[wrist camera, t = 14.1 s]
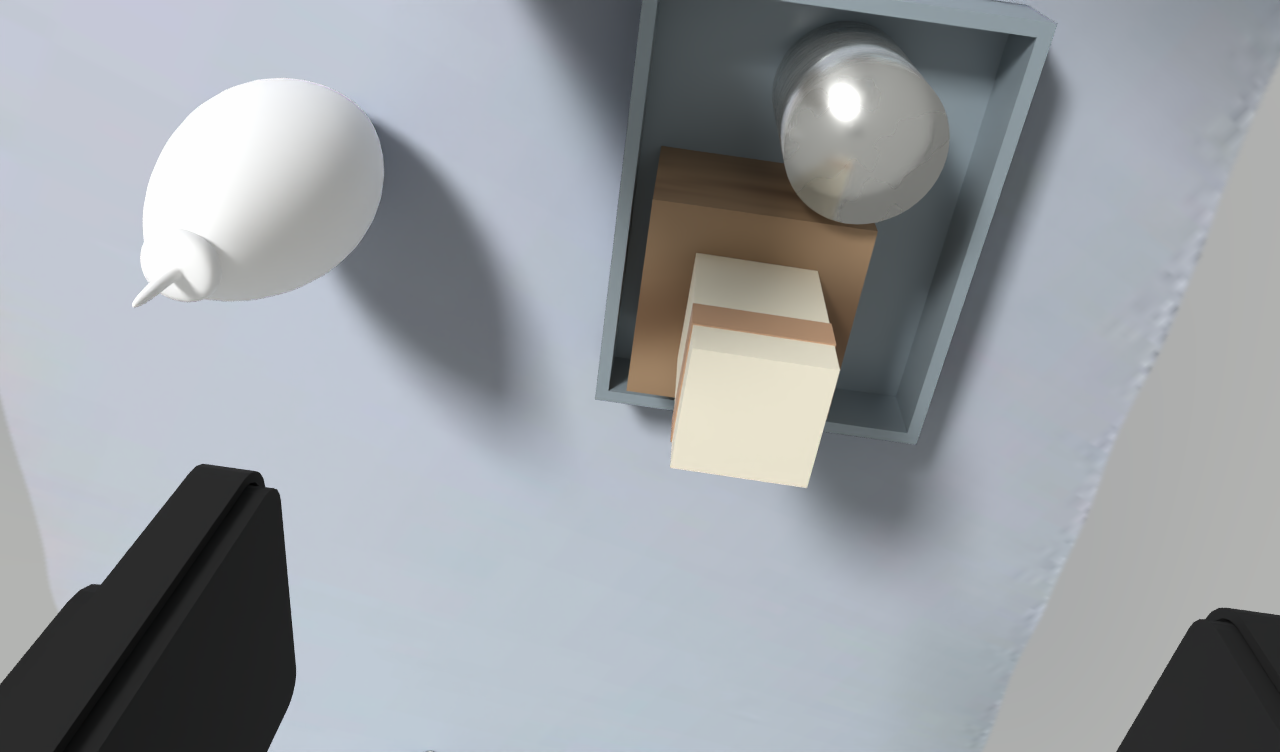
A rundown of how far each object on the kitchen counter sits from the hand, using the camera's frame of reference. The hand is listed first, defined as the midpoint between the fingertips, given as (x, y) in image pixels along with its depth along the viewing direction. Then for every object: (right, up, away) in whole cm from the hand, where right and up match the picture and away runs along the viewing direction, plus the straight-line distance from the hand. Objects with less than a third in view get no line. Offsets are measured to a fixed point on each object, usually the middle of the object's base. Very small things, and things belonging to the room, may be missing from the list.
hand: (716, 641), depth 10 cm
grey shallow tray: (+6, +11, +35) cm, 38 cm away
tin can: (+8, +15, +32) cm, 36 cm away
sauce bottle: (-15, +14, +35) cm, 41 cm away
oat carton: (+4, +5, +30) cm, 31 cm away
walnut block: (+4, +9, +36) cm, 37 cm away
